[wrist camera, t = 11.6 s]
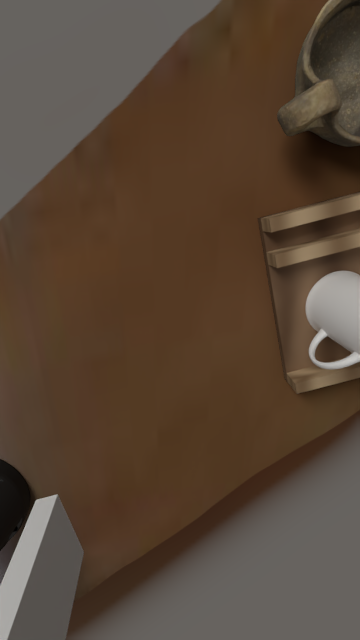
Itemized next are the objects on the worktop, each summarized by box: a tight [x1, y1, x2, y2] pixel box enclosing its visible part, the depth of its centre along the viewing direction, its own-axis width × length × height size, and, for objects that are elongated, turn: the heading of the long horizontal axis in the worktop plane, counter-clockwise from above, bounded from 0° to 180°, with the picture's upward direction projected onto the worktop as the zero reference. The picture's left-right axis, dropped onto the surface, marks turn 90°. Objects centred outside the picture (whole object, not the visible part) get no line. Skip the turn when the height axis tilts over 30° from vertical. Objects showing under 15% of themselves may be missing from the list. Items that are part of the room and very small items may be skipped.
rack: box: [258, 192, 360, 394], centre depth 41 cm, size 14×22×4 cm, turn 14°
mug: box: [305, 271, 360, 370], centre depth 37 cm, size 12×8×12 cm
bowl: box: [277, 0, 360, 147], centre depth 32 cm, size 14×18×10 cm
